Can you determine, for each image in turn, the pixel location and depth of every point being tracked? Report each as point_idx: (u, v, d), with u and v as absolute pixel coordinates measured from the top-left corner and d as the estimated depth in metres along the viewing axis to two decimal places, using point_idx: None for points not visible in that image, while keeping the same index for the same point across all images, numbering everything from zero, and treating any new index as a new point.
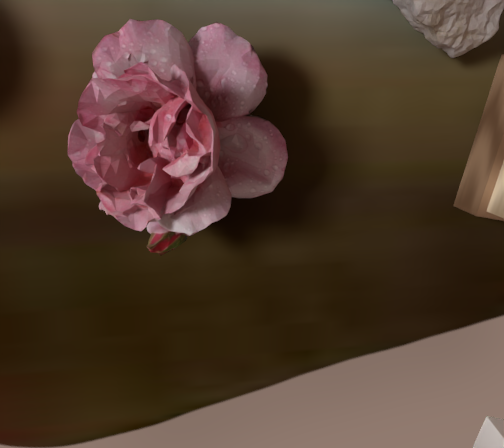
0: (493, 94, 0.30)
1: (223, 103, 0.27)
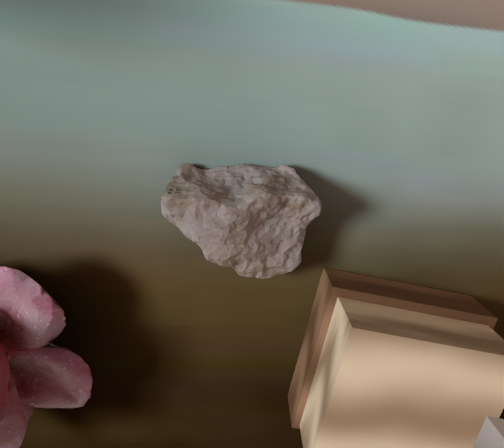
0: (315, 306, 0.31)
1: (21, 334, 0.27)
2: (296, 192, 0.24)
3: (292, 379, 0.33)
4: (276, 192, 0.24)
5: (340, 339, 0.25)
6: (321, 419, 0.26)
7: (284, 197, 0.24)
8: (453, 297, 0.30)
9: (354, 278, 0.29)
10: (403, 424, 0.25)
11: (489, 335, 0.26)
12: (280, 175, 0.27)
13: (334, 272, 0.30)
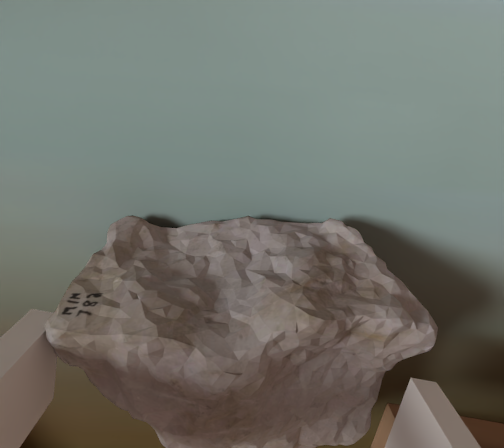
0: None
1: None
2: (378, 302, 0.10)
3: None
4: (332, 307, 0.10)
5: None
6: None
7: (353, 319, 0.10)
8: None
9: None
10: None
11: None
12: (329, 246, 0.12)
13: None
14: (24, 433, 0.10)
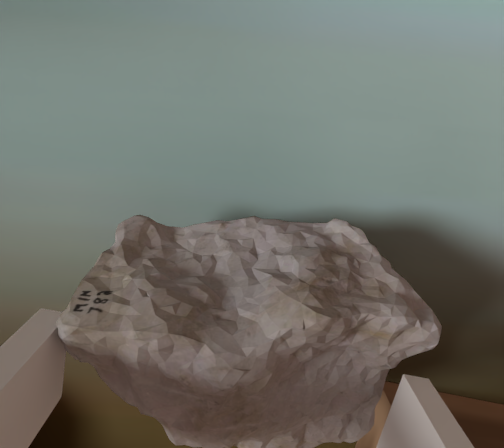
0: (364, 443, 0.19)
1: None
2: (382, 300, 0.10)
3: None
4: (338, 305, 0.10)
5: None
6: None
7: (358, 317, 0.10)
8: None
9: None
10: None
11: None
12: (334, 246, 0.12)
13: None
14: (34, 431, 0.10)
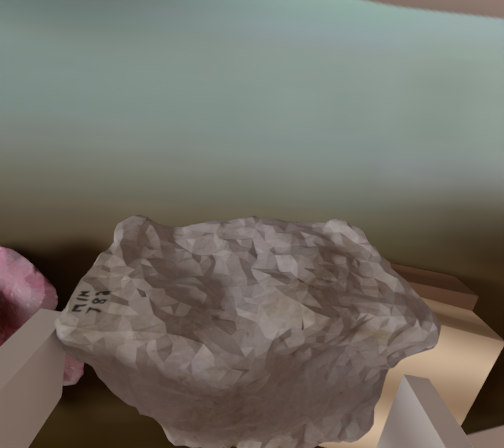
0: None
1: (15, 312, 0.28)
2: (382, 300, 0.10)
3: None
4: (337, 305, 0.10)
5: None
6: None
7: (358, 317, 0.10)
8: (436, 277, 0.31)
9: None
10: (383, 398, 0.26)
11: (472, 319, 0.27)
12: (333, 245, 0.12)
13: None
14: (34, 431, 0.10)
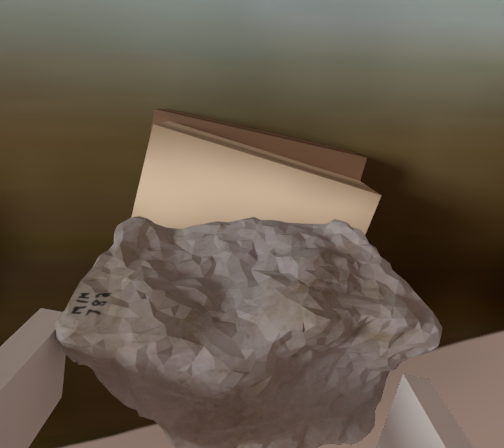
0: None
1: None
2: (383, 302, 0.10)
3: None
4: (338, 307, 0.10)
5: None
6: None
7: (358, 318, 0.10)
8: (324, 145, 0.24)
9: (199, 117, 0.24)
10: None
11: (351, 180, 0.21)
12: (334, 247, 0.12)
13: (176, 111, 0.24)
14: (34, 431, 0.10)
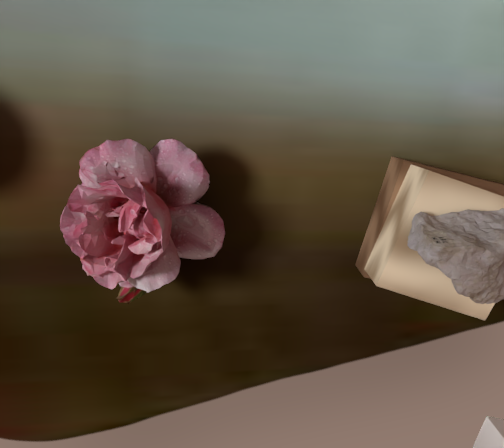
0: (383, 185, 0.40)
1: (176, 194, 0.36)
2: None
3: None
4: None
5: (415, 185, 0.35)
6: (393, 245, 0.35)
7: None
8: None
9: (415, 162, 0.39)
10: None
11: None
12: None
13: None
14: None
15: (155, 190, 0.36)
